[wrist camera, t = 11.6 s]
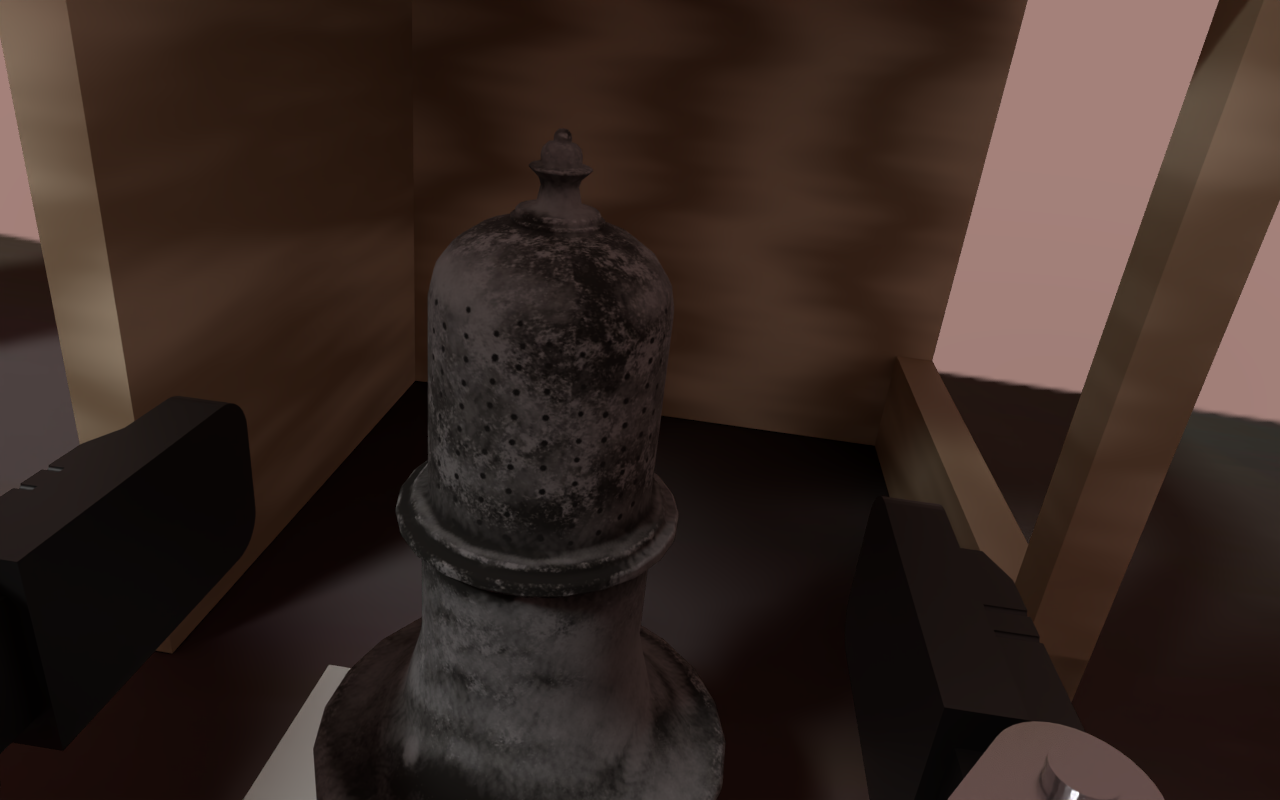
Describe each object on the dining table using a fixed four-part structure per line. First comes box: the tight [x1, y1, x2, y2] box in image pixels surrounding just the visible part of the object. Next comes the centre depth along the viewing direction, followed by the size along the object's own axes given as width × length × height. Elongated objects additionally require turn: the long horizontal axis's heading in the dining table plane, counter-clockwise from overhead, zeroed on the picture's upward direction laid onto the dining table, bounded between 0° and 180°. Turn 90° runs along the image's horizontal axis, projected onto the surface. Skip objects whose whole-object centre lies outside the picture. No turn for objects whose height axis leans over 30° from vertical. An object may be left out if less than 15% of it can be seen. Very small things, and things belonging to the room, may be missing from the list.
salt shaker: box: [313, 128, 726, 800], centre depth 12 cm, size 6×6×12 cm
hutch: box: [0, 0, 1280, 703], centre depth 22 cm, size 19×16×16 cm
